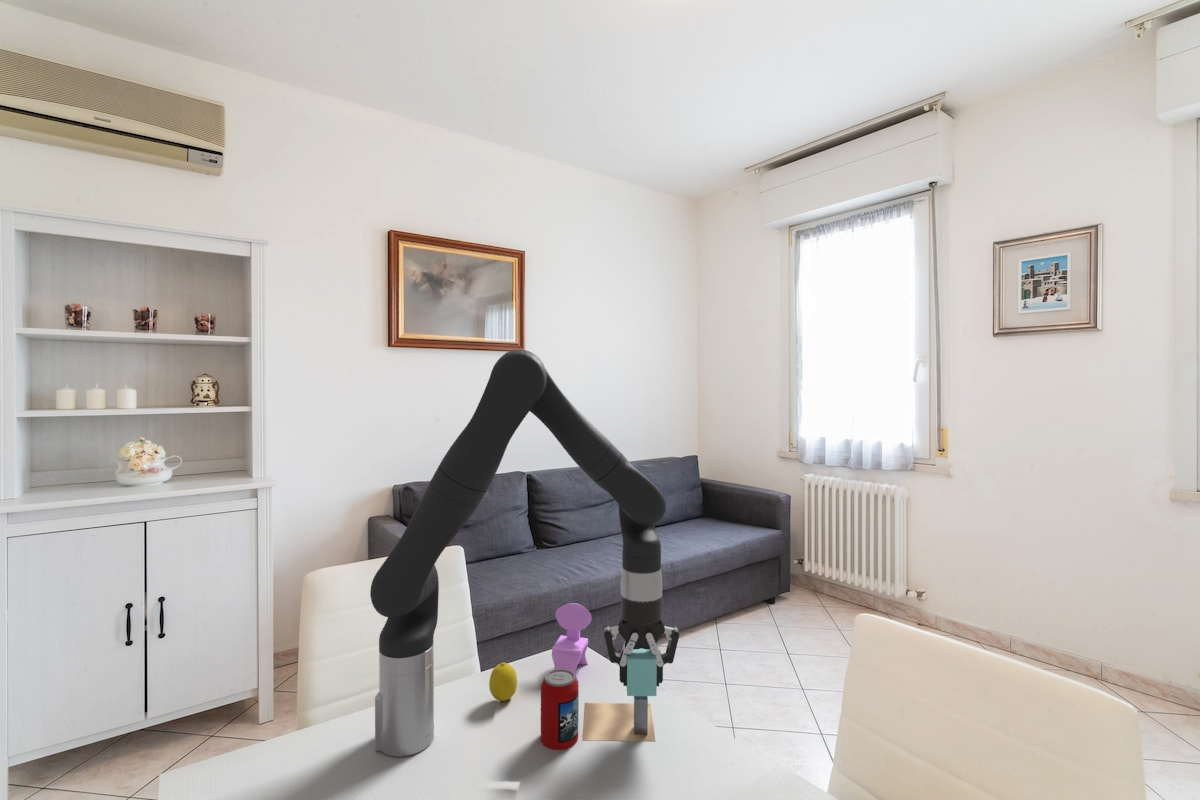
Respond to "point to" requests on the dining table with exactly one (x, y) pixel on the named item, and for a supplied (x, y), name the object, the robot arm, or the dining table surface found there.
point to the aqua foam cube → (641, 673)
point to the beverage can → (559, 709)
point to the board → (613, 723)
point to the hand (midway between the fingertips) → (641, 683)
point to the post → (640, 715)
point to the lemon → (503, 682)
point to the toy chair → (571, 637)
